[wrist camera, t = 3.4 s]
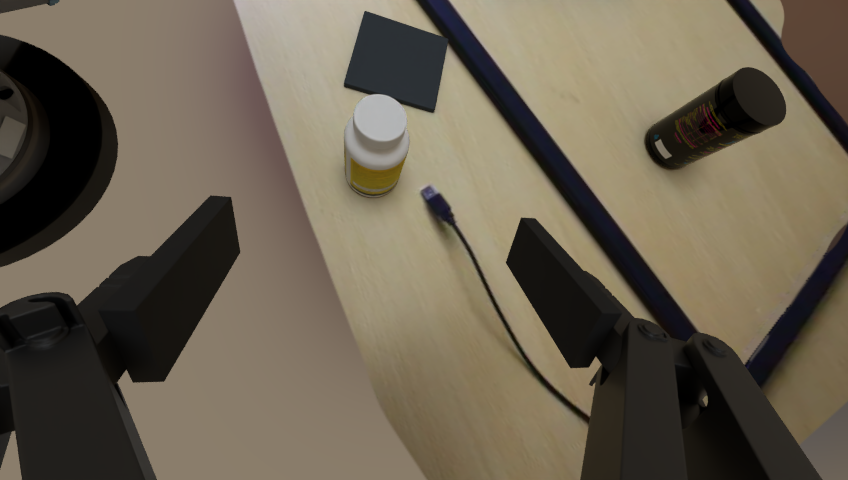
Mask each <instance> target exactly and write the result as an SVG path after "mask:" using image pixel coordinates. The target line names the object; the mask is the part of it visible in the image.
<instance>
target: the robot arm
mask: <svg viewBox="0 0 848 480" xmlns="http://www.w3.org/2000/svg"><path fill="white" fill-rule="evenodd" d="M58 2H59V0H0V13H4V12H9V11H14V10H19V9H23V8H28V7H33V6H37V5H42V4H48V5H50V6H52V5H55V3H58ZM50 142H51V126H50V122H49V118H48V115H47V113H46V111H45V109H44V107H43V105H42V104H41V102H40V101H39V99H38V98H37V97H36V96H35V95H34V94H33V93H32V92H31V91H30V90H29V89H28V88H26V87H25V86H24V85H22V84H21V83H20V82H18V81H17V80H15V79H14V78H12V77H11V76H10V75H8V74H7V73H5V72H4V71H2V70H1V69H0V205H1V204H3V203H4V202H6V201H7V200H9V199H11V198H12V197H13V196H15V195H16V194H17V193H19V192H20V191H21V190H22V189H23V188H24V187H25V186H26V185H27V184H28V183H29V182H30V181H31V180H32V179H33V178H34V177H35V175H36V174H37V173H38V171H39V170H40V168H41V166H42V165H43V163H44V161H45V159H46V157H47V154H48V151H49V147H50ZM239 253H240V248H239V242H238V236H237V230H236V224H235V218H234V212H233V206H232V200H231V197H222V196H210V197H209V198H208V199H207V200H206V201H205V202H204V203H203V204H202V205H201V206H200V207H199V208H198V209H197V210H196V211H195V212H194V213H193V214H192V215H191V216H190V217H189V218H188V219H187V220H186V221H185V222H184V223H183V224H182V225H181V226H180V227H179V228H178V229H177V230H176V231H175V232H174V233H173V234H172V235H171V236H170V237H169V238H168V239H167V240H166V241H165V242H164V243H163V244H162V245H161V246H160V247H159V248H158V249H157V250H156V251H155V253H153V254H152V256H137V257H135V258H134V259H131V260H130V261H128V262H126V263H124V264H122V265H120V266H119V267H118V268H117V269H116V270H115V271H114V272H113V273H112V274H111V275H110V276H109V278H106V279H105V280H104V281H103V282H102V283H101V284H100V286H99V287H97V288H96V289H94V290H93V291H92V292H91V293H90V294H89V295H88V296H87V297H86V298H85V299H84V300H83V301H81V302H80V303H79V304H78V305H77V306H76V304H75V302H74V300H73V298H71V297H70V296H69V295H68V294H64V293H60V292H50V293H41V294H36V295H31V296H27V297H24V298H21V299H18V300H16V301H13V302H10V303H9V304H7V305H5V306H3V307H1V308H0V468H1V465H2V461H3V458H4V454H5V451H6V448H7V445H8V442H9V438H10V435H11V432H12V431H15V432H16V440H17V446H18V454H19V461H20V468H21V475H22V480H157V479H156V476H155V474H154V472H153V469H152V467H151V464H150V461H149V459H148V456H147V454H146V451H145V449H144V447H143V444H142V442H141V439H140V436H139V434H138V432H137V429H136V427H135V424H134V422H133V419H132V417H131V414H130V412H129V409H128V407H127V404H126V402H125V399H124V397H123V394H122V392H121V389H120V387H119V385H118V383H117V382H118V380H119V379H120V377H121V376H122V374H123V373H124V372H125V370H126V369H127V371H128V373H129V375H130V378H131V379H132V381H133V382H162V381H163V382H164V381H165V379H166V377H167V376H168V374H169V372H170V370H171V369H172V367H173V365H174V364H175V362H176V360H177V358H178V357H179V355H180V353H181V351H182V350H183V348H184V347H185V345H186V343H187V342H188V340H189V338H190V337H191V335H192V333H193V331H194V330H195V328H196V326H197V325H198V323H199V321H200V319H201V318H202V316H203V315H204V313H205V311H206V309H207V308H208V306H209V304H210V302H211V301H212V299H213V298H214V296H215V294H216V292H217V291H218V289H219V287H220V286H221V284H222V282H223V281H224V279H225V277H226V276H227V274H228V272H229V270H230V269H231V267H232V265H233V264H234V262H235V260H236V259H237V257H238V255H239ZM506 264H507V265H508V267H509V269H510V270H511V272H512V274H513V275H514V277H515V278H516V280H517V282H518V283H519V285H520V287H521V288H522V290H523V291H524V293H525V295H526V296H527V298H528V300H529V301H530V303H531V304H532V306H533V308H534V309H535V311H536V313H537V314H538V316H539V318H540V319H541V321H542V322H543V324H544V326H545V327H546V329H547V331H548V332H549V334H550V335H551V337H552V339H553V340H554V342H555V344H556V345H557V347H558V348H559V350H560V352H561V353H562V355H563V357H564V358H565V360H566V361H567V363H568V365H569V366H570V368H586V367H589V366H590V364H591V363H592V361H593V360H594V358H595V357H597V358H598V360H599V361H600V362H601V364H602V365H601V366H600V368H599V369H598V371H597V372H596V374H595V375H594V377H593V378H592V380H591V382H590V383H589V385H591V386H592V385H593V384H594V383H595V382H596V384H595V390H594V397H593V403H592V409H591V416H590V422H589V428H588V435H587V441H586V447H585V454H584V460H583V466H582V473H581V479H580V480H822V479H821V477H820V476H819V474H818V473H817V471H816V470H815V468H814V467H813V465H812V464H811V462H810V461H809V459H808V458H807V457H806V455H805V454H804V452H803V451H802V449H801V448H800V446H799V445H798V443H797V442H796V440H795V439H794V437H793V436H792V435H791V433H790V432H789V430H788V429H787V427H786V426H785V424H784V423H783V421H782V420H781V418H780V417H779V415H778V414H777V412H776V411H775V410H774V408H773V407H772V405H771V404H770V402H769V401H768V399H767V398H766V396H765V395H764V393H763V392H762V390H761V389H760V388H759V386H758V385H757V383H756V382H755V380H754V379H753V377H752V376H751V374H750V373H749V371H748V370H747V368H746V367H745V365H744V364H743V363H742V361H741V360H740V358H739V357H738V355H737V354H736V353H735V352H734V351H733V349H732V348H730V347H729V346H728V345H727V344H725V342H723V341H721V340H719V339H718V338H716V337H713V336H710V335H708V334H704V333H694V334H693V335H692V337H691V338H690V339H689V340H688V341H687V342H685V341H681V340H677V339H673V338H670V336H669V335H668V334H667V333H666V332H665V331H664V330H663V329H662V328H660V327H659V326H658V325H656V324H654V323H652V322H650V321H647V320H644V319H640V318H634V317H633V316H632V315H631V314H630V313H629V311H628V310H627V309H626V308H625V307H624V306H623V305H622V304H621V303H620V302H619V301H618V300H617V299H616V298H615V297H614V296H612V294H611V293H610V292H609V290H608V289H605V286H604V285H603V284H602V283H601V282H600V281H599V280H598V279H597V278H596V277H594V276H593V275H591V274H590V273H588V272H587V271H583V270H582V269H581V268H580V266H579V265H578V264H577V263H576V262H575V261H574V260H573V259H572V258H571V257H570V256H569V255H568V253H567V252H566V251H565V250H564V249H563V248H562V247H561V246H560V245H559V244H558V243H557V242H556V240H555V239H554V238H553V237H552V236H551V235H550V234H549V233H548V232H547V231H546V230H545V229H544V227H543V226H542V225H541V224H540V223H539V222H538V221H537V220H536V219H534V218H521V220H520V223H519V226H518V229H517V232H516V235H515V237H514V240H513V243H512V246H511V249H510V252H509V255H508V258H507V261H506ZM706 395H707V396H708V404H707V407H706V406H705V404H704V402H703V400H702V399H703V398H704V397H705V396H706Z"/></svg>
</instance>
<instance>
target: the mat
mask: <svg viewBox="0 0 848 480" xmlns="http://www.w3.org/2000/svg"><path fill="white" fill-rule="evenodd" d="M447 44H448V39H447V38H444V37H441V36H438V35H435V34H432V33H429V32H426V31H423V30H420V29H417V28H414V27H412V26H409V25H406V24H403V23H400V22H397V21H394V20H391V19H388V18H385V17H382V16H379V15H376V14H373V13H370V12H367V11H365V12H364V15H363V19H362V22H361V26H360V29H359V33H358V36H357V40H356V43H355V47H354V50H353V54H352V57H351V61H350V64H349V68H348V71H347V75H346V78H345V82H344V86H345V87H348V88H351V89H355V90H358V91H361V92H365V93H368V94H372V95H373V94H382V95H386V96H389V97H391V98H393V99H395V100H396V101H397V102H399V103H402V104H405V105H409V106H412V107H416V108H419V109H422V110H426V111H429V112H434V110H435V106H436V101H437V95H438V90H439V85H440V80H441V75H442V69H443V64H444V59H445V54H446V49H447Z"/></svg>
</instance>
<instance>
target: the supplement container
mask: <svg viewBox="0 0 848 480" xmlns="http://www.w3.org/2000/svg"><path fill="white" fill-rule="evenodd" d="M785 115H786V104H785V100H784V97H783V95H782V93H781V91H780V89H779V88H778V86H777V85H776V84H775V82H774V81H773V80H772V79H771V78H770V77H769V76H767V75H766V74H765V73H763V72H761V71H759V70H757V69H754V68H749V67H746V68H742V69H740V70H738V71H736V72H735V73H733V74H732V75H730V76H729V77H727V78H725V79H723V80H722V81H721V82H720V83H718V84H717V85H715V86H714V87H712V88H710V89H709V90H707V91H706V92H704V93H703V94H701V95H699V96H698V97H696V98H695V99H693V100H692V101H690V102H689V103H687V104H685V105H684V106H682V107H681V108H679V109H678V110H676V111H674V112H673V113H671V114H670V115H668V116H667V117H665V118H663V119H662V120H660V121H659V122H657V123H656V124H654V125H653V126H652V127H651V129H650V130H649V132H648V135H647V147H648V150H649V152H650V154H651V155H652V157H653V158H654V159H655V160H656V161H657V162H658V163H659V164H661V165H663V166H665V167H668V168H674V169H675V168H682V167H684V166H687V165H689V164H691V163H693V162H695V161H698V160H700V159H702V158H704V157H706V156H709V155H711V154H713V153H715V152H717V151H720V150H722V149H724V148H726V147H728V146H731V145H733V144H735V143H737V142H739V141H742V140H744V139H746V138H748V137H750V136H753V135H755V134H758V133H761V132H763V131H764V130H767V129H769V128H771V127H773V126H775V125H778V124H780V123H781V122H782V121H783V119H784V118H785Z"/></svg>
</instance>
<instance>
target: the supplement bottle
mask: <svg viewBox="0 0 848 480" xmlns="http://www.w3.org/2000/svg"><path fill="white" fill-rule="evenodd" d="M406 126H407V116H406V113H405V110H404V109H403V107H402V106H401V104H400V103H399V102H397V101H396V100H395V99H393V98H391V97H389V96H386V95H382V94H373V95H369V96H366V97H364V98H362V99H361V100H360V101H359V102H358V103H357V105H356V107H355V109H354V113H353V116H352V117H351V119H350V120H349V121H348V123H347V125H346V128H345V131H344V154H345V155H344V157H345V175H346V179H347V181H348V183H349V185H350V186H351V187H352V188H353V189H354V190H355V191H356V192H357V193H359V194H361V195H363V196H367V197H380V196H383V195H386V194H387V193H389V192H390V191H391V190H392V189H393V188H394V187H395V185H396V184H397V182H398V179H399V176H400V173H401V170H402V167H403V164H404V161H405V158H406V156H407V153H408V148H409V134H408V130H407V128H406Z"/></svg>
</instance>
